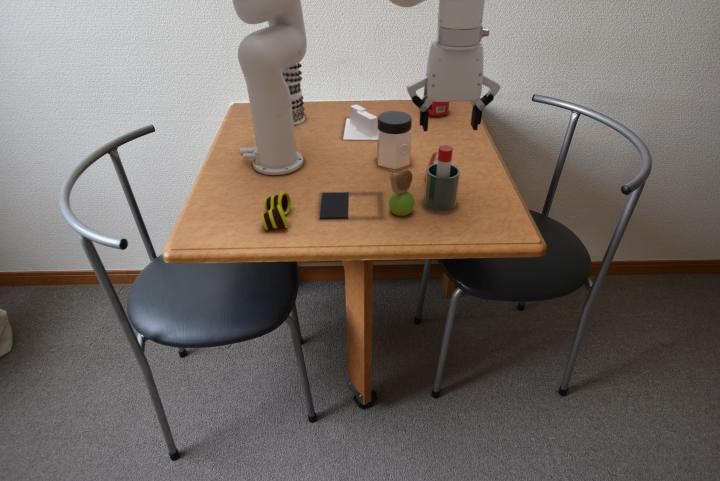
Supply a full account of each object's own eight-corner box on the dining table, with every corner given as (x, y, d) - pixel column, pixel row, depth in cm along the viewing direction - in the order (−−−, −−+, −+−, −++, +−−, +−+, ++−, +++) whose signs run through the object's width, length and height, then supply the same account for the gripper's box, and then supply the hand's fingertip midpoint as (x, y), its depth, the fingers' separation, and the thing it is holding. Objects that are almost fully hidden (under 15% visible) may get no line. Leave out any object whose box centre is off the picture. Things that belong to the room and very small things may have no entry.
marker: (434, 206, 103) (439, 151, 95) (432, 199, 105) (437, 145, 97) (447, 205, 103) (453, 151, 95) (445, 199, 105) (451, 145, 97)
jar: (388, 173, 115) (389, 127, 108) (369, 161, 121) (369, 116, 114) (417, 164, 119) (420, 118, 112) (397, 151, 125) (399, 107, 117)
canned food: (452, 111, 147) (456, 75, 140) (441, 119, 141) (445, 83, 135) (429, 106, 150) (432, 71, 143) (418, 114, 145) (420, 78, 138)
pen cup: (426, 213, 101) (429, 178, 96) (422, 196, 107) (425, 163, 102) (457, 213, 101) (462, 178, 96) (452, 196, 107) (456, 162, 102)
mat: (319, 219, 100) (319, 217, 100) (322, 194, 108) (322, 192, 108) (381, 218, 100) (381, 216, 100) (379, 193, 108) (379, 191, 108)
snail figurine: (379, 215, 101) (380, 165, 94) (399, 204, 104) (402, 154, 97) (398, 226, 98) (401, 175, 90) (419, 214, 101) (423, 163, 94)
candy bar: (432, 157, 122) (433, 147, 120) (446, 159, 121) (448, 148, 119) (422, 189, 109) (423, 177, 108) (438, 191, 109) (440, 179, 107)
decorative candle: (271, 117, 144) (260, 29, 129) (300, 111, 147) (292, 25, 132) (280, 128, 138) (269, 37, 122) (310, 122, 141) (303, 33, 126)
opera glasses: (270, 210, 104) (262, 191, 101) (293, 205, 104) (286, 186, 101) (265, 236, 97) (256, 216, 94) (290, 231, 96) (282, 211, 93)
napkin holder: (384, 139, 131) (384, 120, 127) (343, 139, 131) (342, 119, 128) (383, 118, 143) (384, 99, 139) (346, 118, 143) (345, 99, 140)
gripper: (502, 29, 86) (489, 119, 96) (407, 31, 86) (403, 121, 96) (513, 40, 80) (497, 135, 90) (410, 42, 80) (406, 137, 90)
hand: (449, 128), depth 93 cm, fingers open, 9 cm apart
